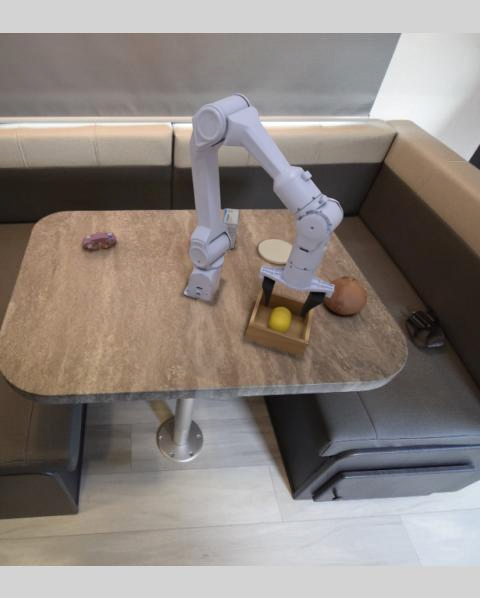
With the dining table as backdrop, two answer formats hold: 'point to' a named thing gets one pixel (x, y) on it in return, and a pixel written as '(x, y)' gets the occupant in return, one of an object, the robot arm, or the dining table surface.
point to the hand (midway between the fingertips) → (284, 308)
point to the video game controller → (99, 240)
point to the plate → (275, 251)
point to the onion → (346, 296)
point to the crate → (288, 341)
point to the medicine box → (231, 222)
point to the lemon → (280, 319)
